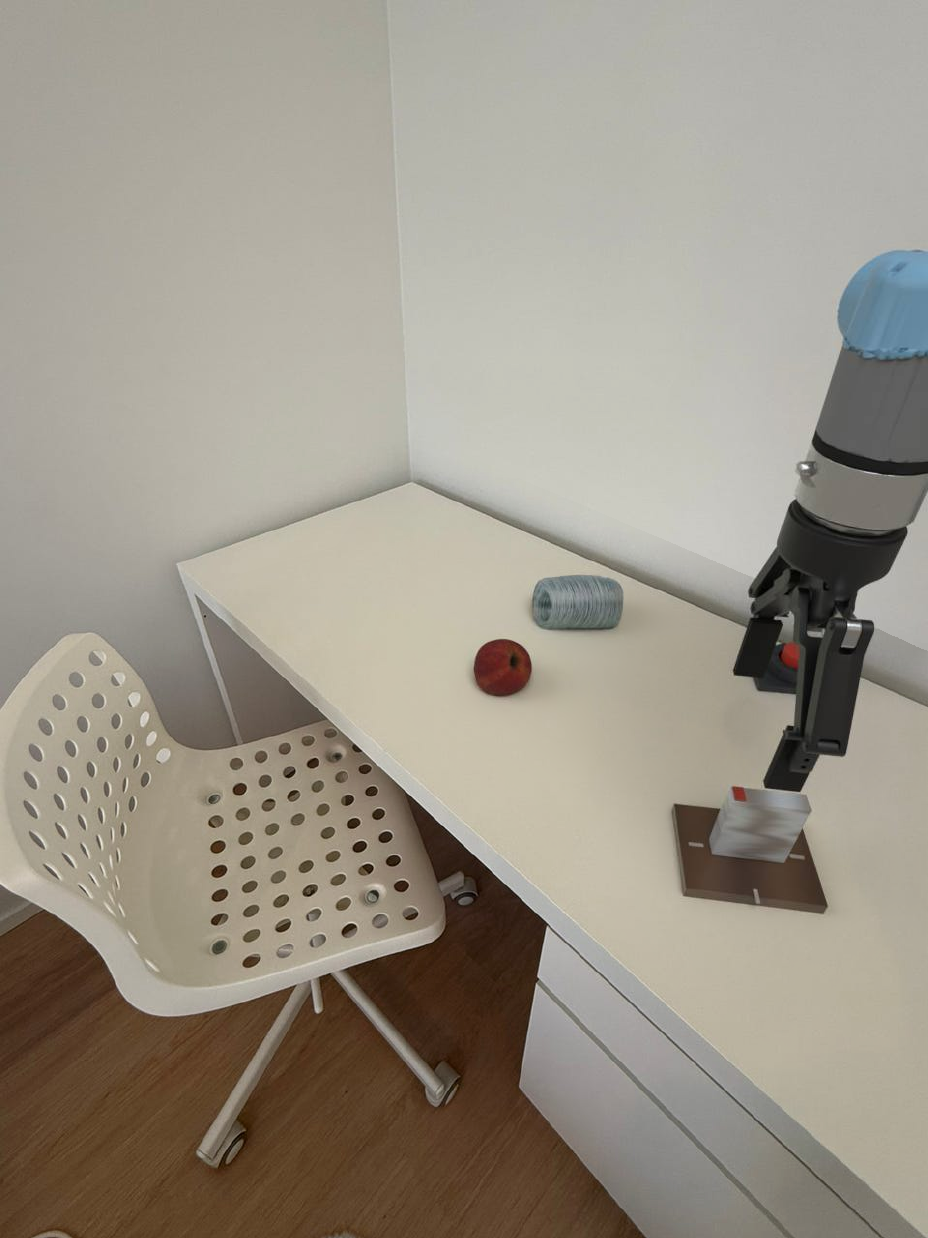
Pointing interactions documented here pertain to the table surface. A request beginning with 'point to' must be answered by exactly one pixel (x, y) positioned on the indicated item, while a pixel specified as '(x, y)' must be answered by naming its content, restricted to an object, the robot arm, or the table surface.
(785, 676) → the switch block
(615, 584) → the spool
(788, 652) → the button
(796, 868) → the base
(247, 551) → the table surface
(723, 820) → the tap handle
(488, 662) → the apple
